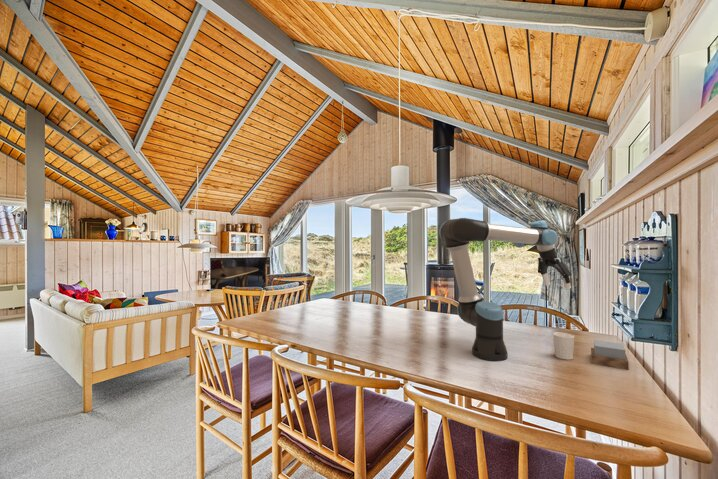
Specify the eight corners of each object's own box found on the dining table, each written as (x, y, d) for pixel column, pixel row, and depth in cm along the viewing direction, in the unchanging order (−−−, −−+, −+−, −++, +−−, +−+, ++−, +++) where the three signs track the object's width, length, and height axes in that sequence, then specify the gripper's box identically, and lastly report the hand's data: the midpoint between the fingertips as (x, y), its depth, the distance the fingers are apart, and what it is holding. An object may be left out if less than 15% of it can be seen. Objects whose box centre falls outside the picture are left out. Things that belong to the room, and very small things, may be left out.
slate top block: (595, 355, 134) (594, 345, 134) (594, 348, 142) (593, 339, 142) (625, 360, 128) (625, 350, 128) (622, 352, 136) (622, 343, 136)
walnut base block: (591, 364, 134) (591, 355, 134) (591, 356, 143) (590, 347, 143) (628, 371, 127) (628, 361, 127) (625, 361, 136) (625, 352, 136)
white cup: (572, 355, 143) (572, 333, 143) (576, 361, 136) (575, 338, 136) (552, 353, 146) (552, 331, 146) (554, 358, 139) (554, 336, 139)
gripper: (571, 247, 154) (584, 287, 155) (535, 246, 178) (546, 281, 179) (559, 252, 152) (572, 293, 153) (523, 250, 177) (535, 286, 178)
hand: (558, 287), depth 166 cm, fingers open, 13 cm apart
